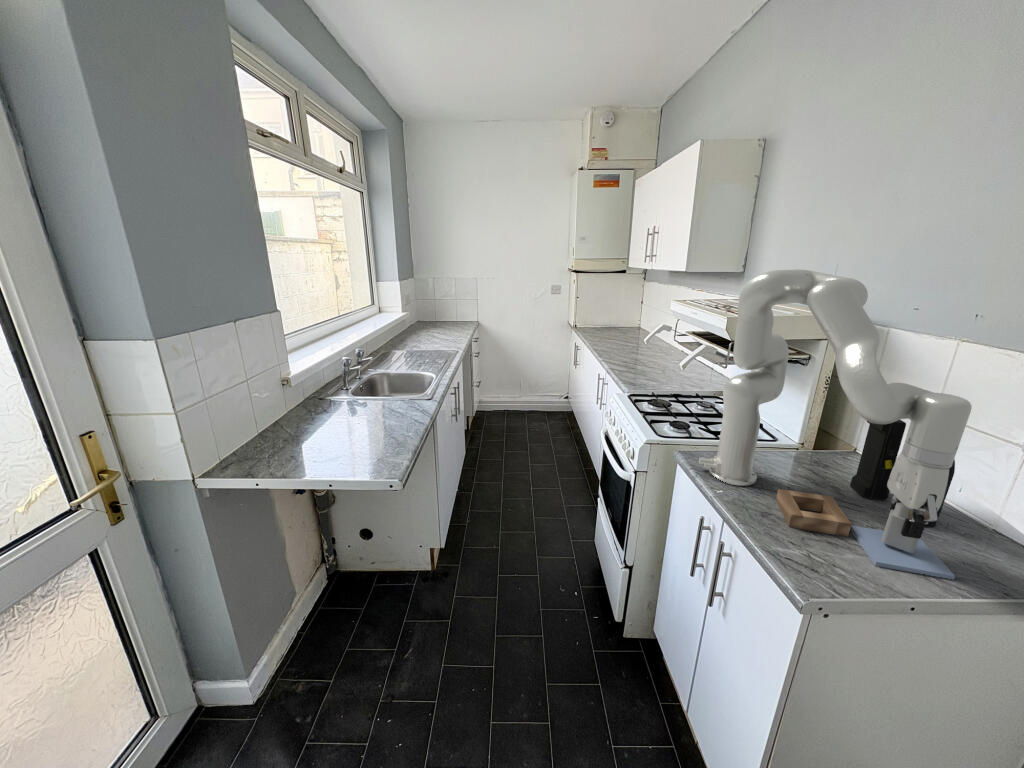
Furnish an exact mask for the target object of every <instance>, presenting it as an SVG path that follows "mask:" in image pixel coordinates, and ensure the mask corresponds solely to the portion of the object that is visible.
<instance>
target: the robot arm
mask: <svg viewBox="0 0 1024 768" xmlns="http://www.w3.org/2000/svg"><path fill="white" fill-rule="evenodd" d="M868 299H869V293H868V288H867V287H866V285H865V284H863V282H861V281H860V280H857V279H854V278H851V277H845V276H840V275H834V274H828V273H823V272H818V271H814V270H809V269H797V268H796V269H777V270H771V271H766V272H763V273H760V274H758V275H756V276H754V277H752V278H750V280H749V281H747V283H745V285H744V286H743V288H742V290H741V291H740V293H739V297H738V302H737V303H738V305H737V308H738V309H737V320H736V328H735V336H734V343H733V351H732V357H733V358H732V359H733V362H734V364H735V366H737V367H738V368H739V369H742V370H747V371H750V372H745V373H740V374H737V375H734V376H733V377H731V378H730V379H729V380H727V382H726V383H725V385H724V387H723V391H722V398H723V399H722V400H723V411H722V412H723V414H722V422H721V427H720V428H721V429H720V434H719V439H718V440H719V441H718V449H717V455H714V457H711V458H707V457H702V456H701V457H699V461H698V464H699V465H703V467H704V468H708V470H709V471H708V472H709V473H711V474H712V475H713V476H714V477H713V476H712V475H711V474H710V475H711V476H712V477H713V478H715V477H716V478H717V479H716V478H715V479H716V480H718V479H719V480H718V481H720V480H721V481H720V482H722V481H723V483H725V482H726V483H725V484H729V485H732V486H740V487H743V486H751V485H754V484H755V483H756V482H757V479H758V475H757V474H756V473H755V472H754V470H753V466H754V460H755V454H756V449H757V445H758V437H759V432H760V425H761V414H760V410H759V408H760V406H761V405H763V404H766V403H769V402H772V401H774V400H776V399H777V398H779V397H780V395H781V394H782V392H783V389H784V386H785V380H786V374H787V370H788V369H787V367H788V361H789V354H790V353H789V352H790V351H789V346H788V343H787V341H786V340H785V338H784V337H783V336H782V335H780V334H778V333H775V332H773V327H774V320H775V318H774V314H773V309H772V308H773V307H775V306H777V305H782V304H783V305H786V304H787V305H788V304H795V303H796V304H801V305H804V306H805V305H806V306H807V307H808V309H809V311H810V313H811V314H812V317H813V318H814V320H815V321H816V323H817V325H818V326H819V328H820V330H821V331H822V333H823V334H824V336H825V338H826V339H827V342H829V345H830V346H831V348H832V349H833V352H834V356H835V357H834V358H835V360H834V361H835V367H836V373H837V377H838V380H839V381H838V382H839V384H840V386H841V388H842V390H843V392H844V394H845V395H846V398H847V399H848V400H849V402H850V404H851V405H852V407H853V409H854V410H855V411H856V413H857V414H858V415H859V416H860V417H861V419H864V420H865V421H866V422H867V421H869V422H871V423H874V424H890V423H893V422H895V421H898V420H905V419H907V420H910V423H909V426H908V430H907V433H906V437H905V438H904V439H905V440H904V443H903V447H902V448H901V451H900V453H898V455H897V459H896V462H895V464H894V466H893V469H892V471H891V474H890V477H889V480H888V483H887V487H888V489H889V490H890V492H891V494H892V497H891V500H890V501H891V505H890V509H889V511H888V515H887V518H886V519H888V517H889V514H890V511H891V510H894V509H895V506H896V503H903V504H904V505H905V506H906V507H907V508H909V517H908V519H906V518H905V521H904V524H903V528H902V531H901V535H902V536H905V537H911V538H917V539H921V538H922V536H923V533H924V529H925V528H926V527H925V524H928V522H931V521H937V511H938V510H939V508H940V506H941V504H942V501H943V498H944V495H945V491H946V487H947V482H948V476H949V468H950V467H951V466H952V464H953V461H954V459H956V454H957V452H958V450H959V447H960V443H961V441H962V437H963V435H964V432H965V429H966V427H967V424H968V421H969V418H970V414H971V413H972V409H973V408H972V407H973V406H972V404H971V402H970V401H968V399H966V398H964V397H960V396H957V395H953V394H951V393H950V394H949V393H943V392H934V391H930V390H927V389H924V388H921V387H918V386H915V385H912V384H908V383H904V382H890V383H887V381H886V380H885V378H884V376H883V374H882V371H881V370H880V368H879V364H878V360H877V351H878V347H879V345H880V341H881V340H880V339H881V333H880V331H879V330H878V329H877V327H876V325H875V324H874V322H873V321H872V320H871V318H870V317H869V315H868V313H867V311H866V310H865V309H864V306H865V305H866V303H867V301H868ZM922 505H923V506H924V508H923V507H921V506H922ZM916 511H923V513H922V514H918V515H916ZM937 522H938V521H937Z"/></svg>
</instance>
